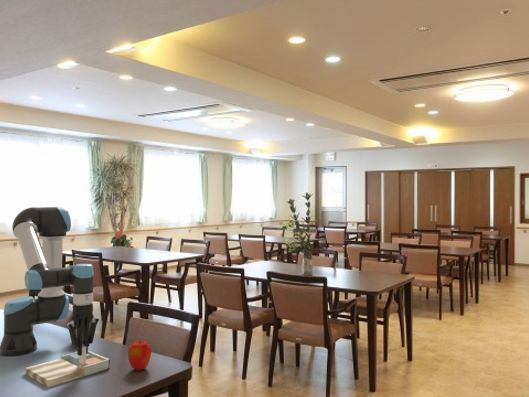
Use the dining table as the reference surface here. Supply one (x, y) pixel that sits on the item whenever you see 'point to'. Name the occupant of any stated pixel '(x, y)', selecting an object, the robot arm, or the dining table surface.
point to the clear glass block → (76, 359)
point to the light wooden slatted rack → (54, 372)
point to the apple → (139, 355)
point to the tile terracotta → (90, 361)
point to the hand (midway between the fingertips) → (82, 362)
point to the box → (92, 367)
